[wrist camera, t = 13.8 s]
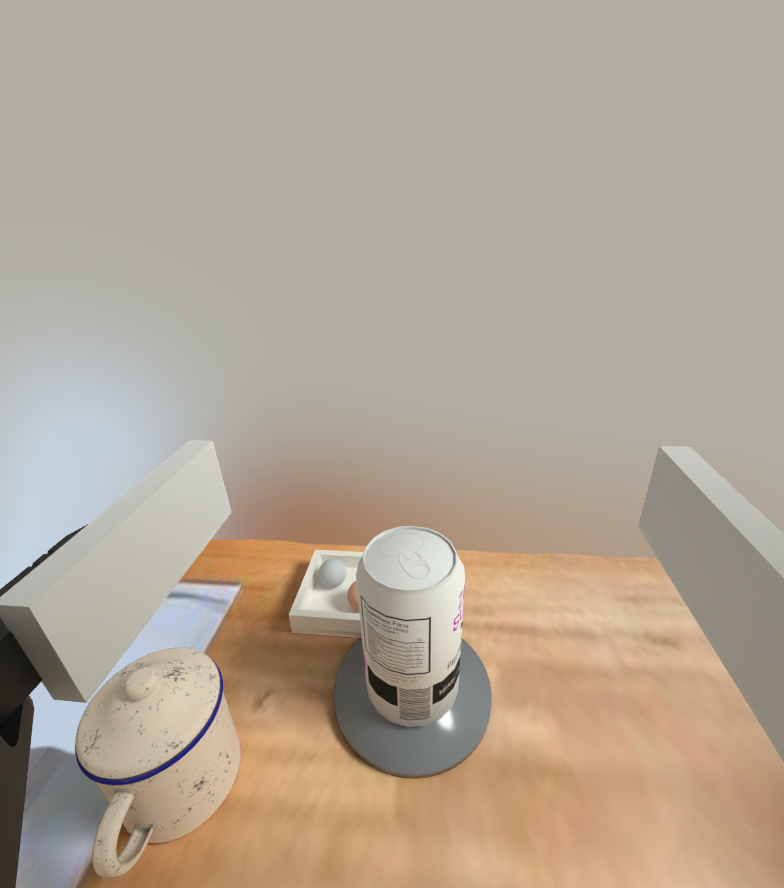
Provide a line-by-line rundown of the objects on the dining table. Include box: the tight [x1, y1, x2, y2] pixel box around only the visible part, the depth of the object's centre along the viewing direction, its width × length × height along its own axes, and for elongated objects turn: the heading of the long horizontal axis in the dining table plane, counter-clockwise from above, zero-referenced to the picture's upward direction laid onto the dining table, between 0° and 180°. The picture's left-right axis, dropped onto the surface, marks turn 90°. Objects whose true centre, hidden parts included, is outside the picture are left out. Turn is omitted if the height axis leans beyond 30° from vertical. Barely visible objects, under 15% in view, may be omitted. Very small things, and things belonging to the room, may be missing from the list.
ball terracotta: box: [347, 581, 359, 610], centre depth 46 cm, size 3×3×3 cm
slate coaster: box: [334, 638, 491, 778], centre depth 39 cm, size 14×14×1 cm
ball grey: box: [319, 558, 347, 587], centre depth 49 cm, size 3×3×3 cm
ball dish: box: [289, 550, 364, 638], centre depth 48 cm, size 10×10×3 cm
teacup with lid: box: [75, 648, 241, 878], centre depth 29 cm, size 12×9×12 cm
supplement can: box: [356, 526, 465, 727], centre depth 35 cm, size 8×8×15 cm
